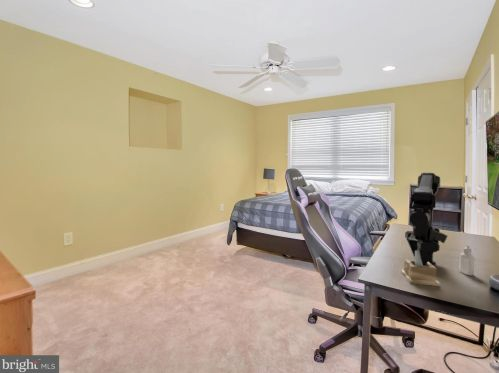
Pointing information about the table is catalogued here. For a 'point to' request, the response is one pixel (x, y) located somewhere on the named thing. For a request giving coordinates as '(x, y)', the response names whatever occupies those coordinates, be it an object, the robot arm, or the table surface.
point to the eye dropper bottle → (467, 262)
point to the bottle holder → (420, 273)
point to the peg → (418, 259)
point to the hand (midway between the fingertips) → (420, 261)
